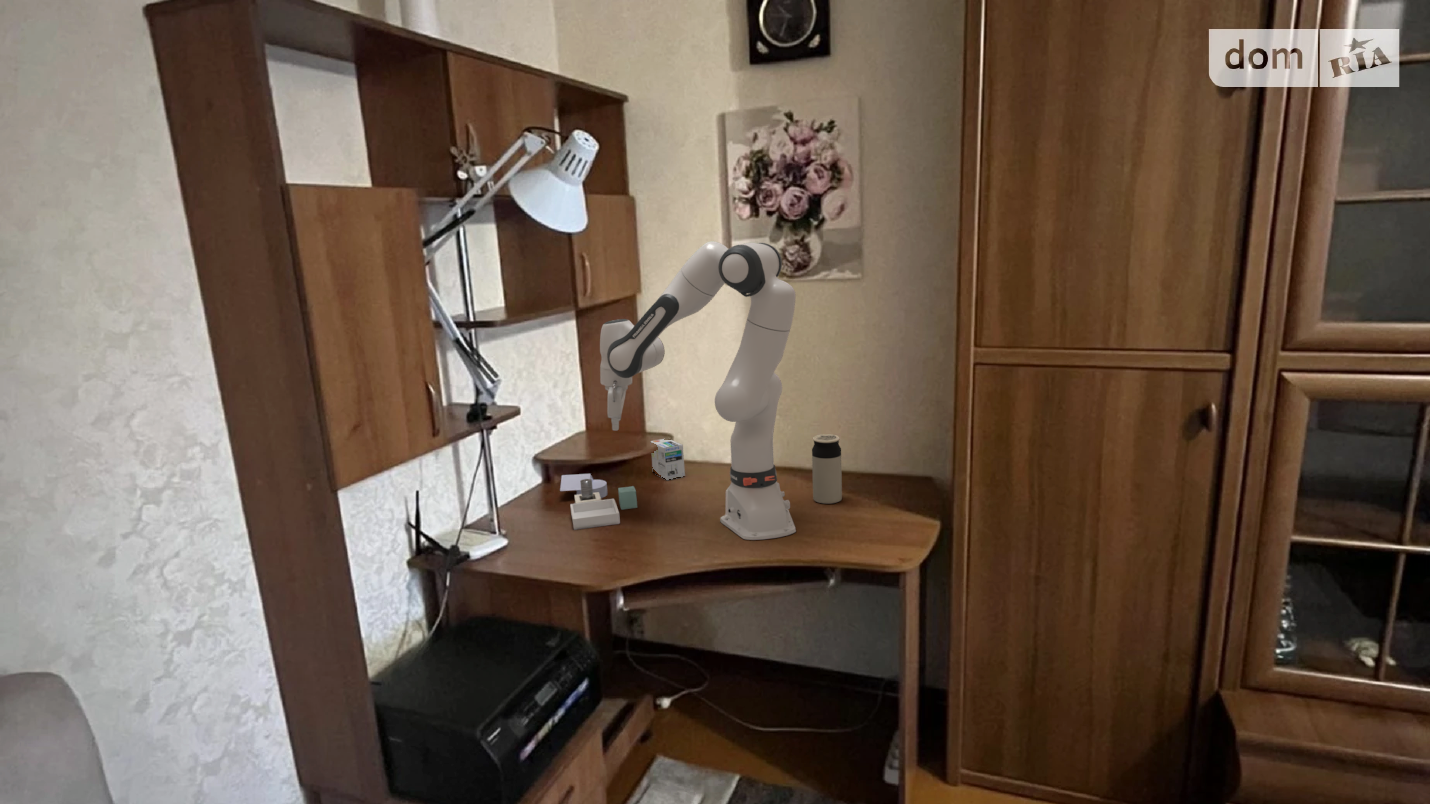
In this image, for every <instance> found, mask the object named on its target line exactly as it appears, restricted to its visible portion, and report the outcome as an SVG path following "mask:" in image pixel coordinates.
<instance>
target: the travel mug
mask: <svg viewBox="0 0 1430 804" xmlns="http://www.w3.org/2000/svg"><path fill="white" fill-rule="evenodd" d="M840 440H841V437H840V436H839V435H836V434H831V433H828V434H826V433H824V434H823V433H822V434H817V435H814V436H813V437H812V441H813V447H812V448H811V460H812V461H811V462H812V465H811V466H812V468H811V469H812V500H813V501H815V502H817V503H819V504H824V505H830V504H831V505H832V504H836V503H838V502H841V501H842V499H843V487H842V485H843V483H842V481H843V480H842V479H843V478H842V448H841V446H840V445H839V443H840Z"/></svg>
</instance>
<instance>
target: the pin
mask: <svg viewBox="0 0 1430 804" xmlns="http://www.w3.org/2000/svg"><path fill="white" fill-rule="evenodd" d="M580 483H581V493H582V501H583V500H591V499H593V488H592V480H591V479H583V480H581V481H580Z"/></svg>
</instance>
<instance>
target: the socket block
mask: <svg viewBox="0 0 1430 804" xmlns="http://www.w3.org/2000/svg"><path fill="white" fill-rule="evenodd" d="M599 500H602V498H600V494H599V492H595V493H593V499H591V500H583V501H582V494H579V495H577V494H574V504H576V503H583V502H591V501H599Z"/></svg>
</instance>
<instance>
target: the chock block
mask: <svg viewBox="0 0 1430 804" xmlns="http://www.w3.org/2000/svg"><path fill="white" fill-rule="evenodd" d="M617 489H618V493H617V494H618V504H619V507H620V510H621V511H622V510H628V509H636V508H638V501H637V500H638V499H637V491H636V488H635V486H634V485H632V486H625V487H618V488H617Z"/></svg>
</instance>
